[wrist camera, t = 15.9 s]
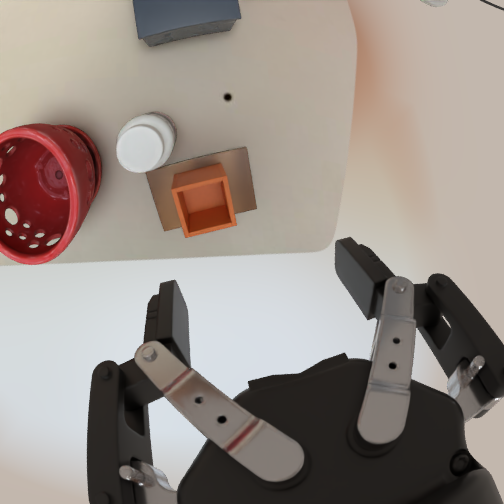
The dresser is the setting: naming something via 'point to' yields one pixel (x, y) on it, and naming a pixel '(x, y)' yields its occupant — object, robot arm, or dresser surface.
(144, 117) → the pill bottle
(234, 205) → the cork mat
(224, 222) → the orange tub
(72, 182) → the flower pot
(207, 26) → the blue tin
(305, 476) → the robot arm
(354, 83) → the dresser surface
